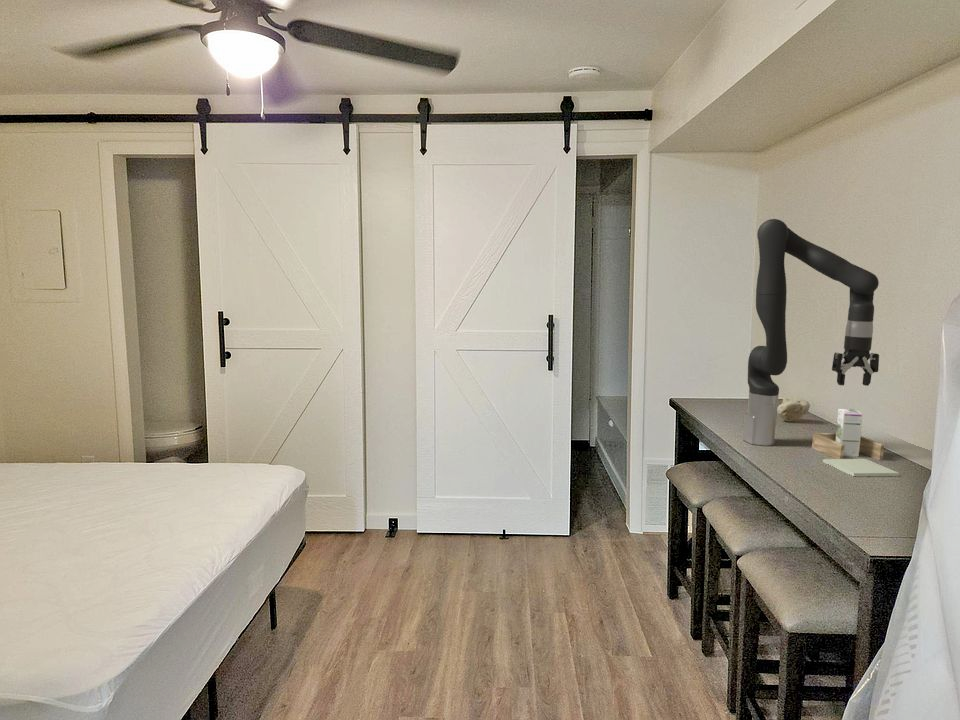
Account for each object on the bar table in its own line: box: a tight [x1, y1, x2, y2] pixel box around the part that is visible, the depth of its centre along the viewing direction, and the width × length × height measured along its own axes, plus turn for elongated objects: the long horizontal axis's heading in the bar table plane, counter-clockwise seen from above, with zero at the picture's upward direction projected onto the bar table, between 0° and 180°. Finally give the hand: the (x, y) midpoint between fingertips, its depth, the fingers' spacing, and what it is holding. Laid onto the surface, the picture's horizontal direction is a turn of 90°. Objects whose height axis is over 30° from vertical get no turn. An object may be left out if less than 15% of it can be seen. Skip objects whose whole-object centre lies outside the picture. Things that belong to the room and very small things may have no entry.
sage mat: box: [822, 458, 900, 478], centre depth 192 cm, size 14×14×1 cm
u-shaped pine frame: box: [811, 432, 885, 461], centre depth 208 cm, size 14×14×5 cm
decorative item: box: [777, 397, 811, 423], centre depth 252 cm, size 12×9×10 cm
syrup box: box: [835, 408, 863, 458], centre depth 208 cm, size 6×6×14 cm
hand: (853, 385), depth 205 cm, fingers open, 8 cm apart
